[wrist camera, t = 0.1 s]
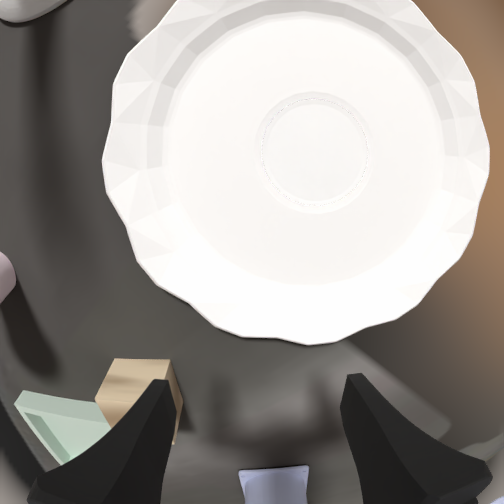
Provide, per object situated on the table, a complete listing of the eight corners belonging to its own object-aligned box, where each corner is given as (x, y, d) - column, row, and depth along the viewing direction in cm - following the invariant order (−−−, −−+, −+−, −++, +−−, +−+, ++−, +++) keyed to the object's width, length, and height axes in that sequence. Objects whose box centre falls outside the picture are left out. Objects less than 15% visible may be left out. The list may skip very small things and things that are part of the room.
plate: (486, 264, 21) (499, 273, 19) (204, 364, 24) (202, 380, 22) (409, -36, 13) (420, -46, 11) (72, 57, 15) (58, 52, 14)
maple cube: (183, 400, 25) (174, 444, 21) (132, 398, 25) (117, 438, 21) (170, 358, 23) (157, 404, 19) (114, 357, 24) (94, 398, 19)
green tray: (154, 470, 30) (151, 486, 28) (69, 455, 30) (64, 468, 28) (116, 405, 26) (109, 423, 23) (23, 390, 26) (13, 404, 23)
